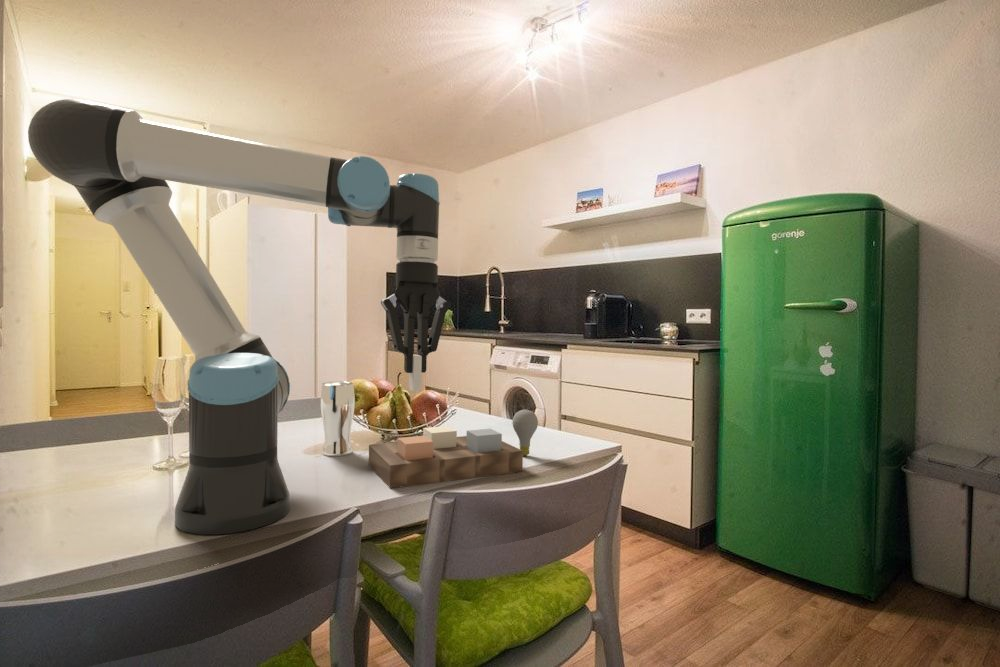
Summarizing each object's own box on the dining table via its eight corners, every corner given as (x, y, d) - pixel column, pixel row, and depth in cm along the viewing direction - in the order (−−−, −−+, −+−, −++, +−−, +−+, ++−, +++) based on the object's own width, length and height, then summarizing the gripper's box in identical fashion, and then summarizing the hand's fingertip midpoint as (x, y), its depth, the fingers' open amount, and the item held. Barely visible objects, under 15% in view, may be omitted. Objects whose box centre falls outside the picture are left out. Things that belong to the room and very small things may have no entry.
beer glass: (348, 457, 113) (349, 385, 112) (315, 456, 113) (315, 385, 113) (358, 449, 120) (358, 381, 119) (326, 448, 120) (327, 381, 120)
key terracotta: (405, 471, 97) (405, 444, 97) (397, 464, 101) (397, 437, 101) (432, 468, 99) (433, 441, 99) (423, 461, 104) (424, 435, 104)
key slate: (476, 462, 103) (477, 436, 103) (466, 455, 108) (466, 430, 108) (501, 459, 105) (501, 433, 105) (489, 453, 110) (490, 428, 110)
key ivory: (431, 458, 105) (431, 433, 105) (422, 452, 110) (423, 428, 110) (456, 455, 108) (456, 431, 107) (446, 449, 112) (447, 426, 112)
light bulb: (527, 460, 113) (528, 412, 112) (506, 456, 116) (507, 409, 116) (542, 455, 117) (543, 409, 117) (521, 451, 120) (522, 406, 120)
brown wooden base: (389, 488, 93) (390, 465, 93) (368, 464, 108) (368, 444, 107) (522, 471, 105) (522, 450, 105) (487, 452, 119) (487, 434, 119)
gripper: (387, 257, 93) (385, 394, 94) (458, 262, 99) (455, 391, 99) (376, 261, 100) (374, 389, 100) (443, 265, 105) (441, 386, 106)
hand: (414, 390), depth 100 cm, fingers closed
